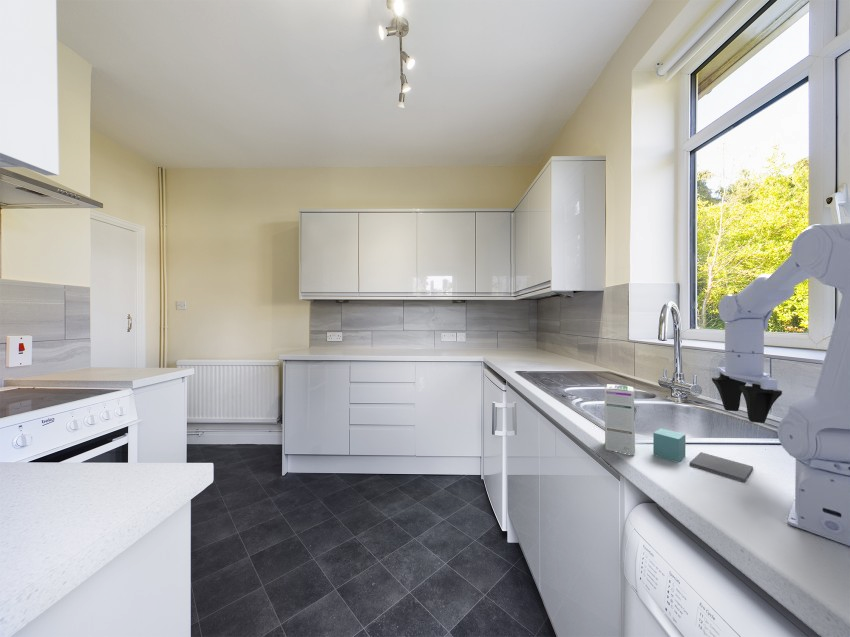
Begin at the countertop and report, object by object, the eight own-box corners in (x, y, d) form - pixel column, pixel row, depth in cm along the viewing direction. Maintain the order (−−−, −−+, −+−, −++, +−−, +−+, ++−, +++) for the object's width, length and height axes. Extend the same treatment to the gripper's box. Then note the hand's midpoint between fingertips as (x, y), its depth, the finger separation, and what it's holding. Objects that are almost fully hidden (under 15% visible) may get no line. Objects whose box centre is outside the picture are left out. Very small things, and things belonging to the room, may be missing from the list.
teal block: (678, 462, 65) (678, 439, 65) (653, 454, 68) (653, 432, 68) (685, 456, 67) (685, 434, 67) (660, 449, 71) (660, 428, 71)
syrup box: (635, 456, 68) (635, 391, 67) (604, 450, 71) (604, 387, 71) (634, 447, 72) (635, 386, 72) (605, 441, 76) (605, 382, 75)
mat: (744, 482, 57) (744, 479, 57) (689, 465, 64) (689, 462, 64) (752, 469, 62) (753, 466, 62) (700, 454, 68) (700, 452, 68)
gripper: (798, 357, 57) (798, 430, 57) (743, 348, 71) (742, 407, 71) (750, 355, 59) (750, 426, 59) (705, 348, 73) (705, 405, 73)
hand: (743, 416), depth 65 cm, fingers open, 7 cm apart
